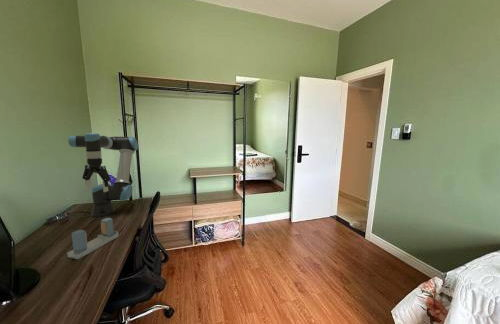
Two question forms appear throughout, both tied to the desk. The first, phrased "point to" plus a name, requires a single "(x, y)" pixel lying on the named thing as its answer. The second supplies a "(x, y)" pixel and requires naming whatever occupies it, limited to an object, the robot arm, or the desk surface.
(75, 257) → the rail
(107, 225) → the grey orange block
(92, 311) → the desk surface
